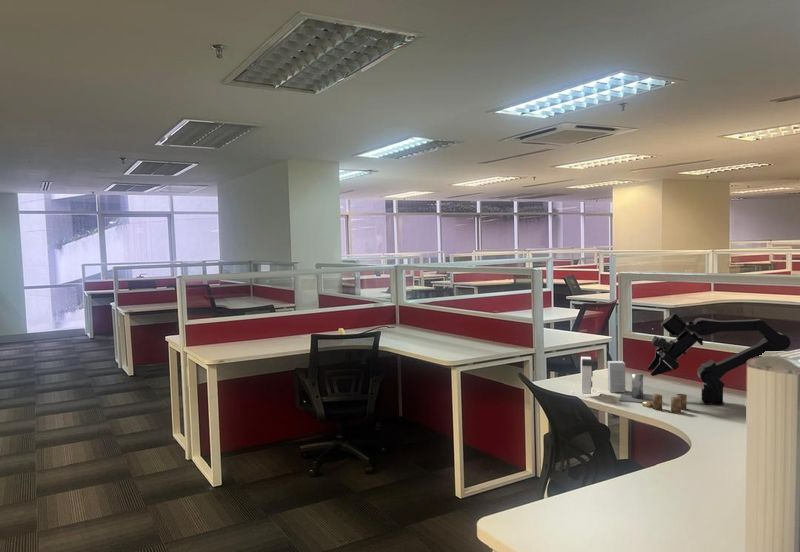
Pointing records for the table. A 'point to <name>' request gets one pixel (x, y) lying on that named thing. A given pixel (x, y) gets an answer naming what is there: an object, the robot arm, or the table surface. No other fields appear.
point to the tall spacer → (637, 385)
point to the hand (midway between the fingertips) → (649, 372)
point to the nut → (648, 403)
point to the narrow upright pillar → (586, 374)
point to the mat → (628, 398)
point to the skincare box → (616, 376)
